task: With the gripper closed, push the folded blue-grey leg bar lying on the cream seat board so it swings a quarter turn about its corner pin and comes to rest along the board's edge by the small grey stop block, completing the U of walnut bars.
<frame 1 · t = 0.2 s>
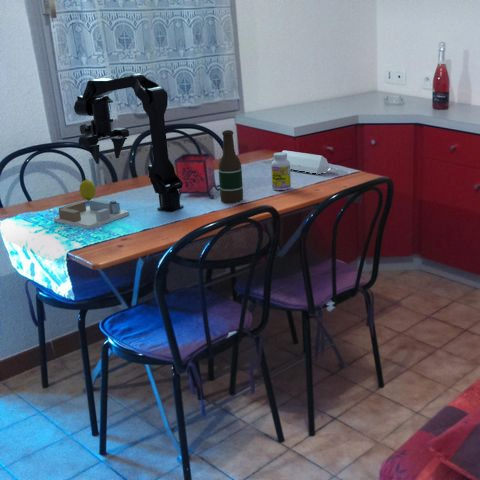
hand: (107, 161, 241), 14 cm above the table, tool pointing down, fingers open, 9 cm apart
white triangular prism: (302, 171, 271), on the table
beer bottle: (232, 201, 235), on the table
seat: (92, 218, 225), on the table
leg: (104, 205, 227), point 3 cm above the table, hinge at 0.0°
supplement bottle: (281, 189, 246), on the table
lemon: (89, 201, 246), on the table
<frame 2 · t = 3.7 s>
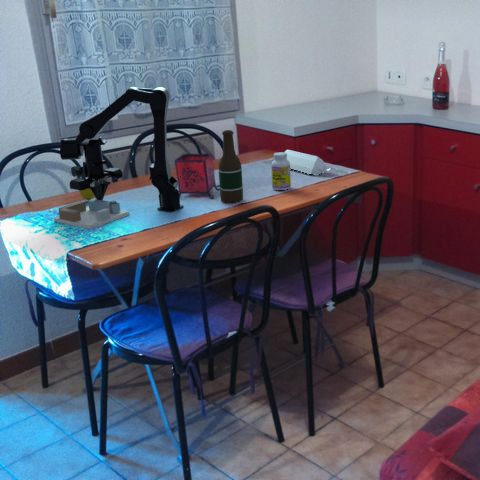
hand: (100, 203, 231), 3 cm above the table, tool pointing down, fingers closed
leg: (103, 205, 227), point 3 cm above the table, hinge at 2.5°, touching gripper
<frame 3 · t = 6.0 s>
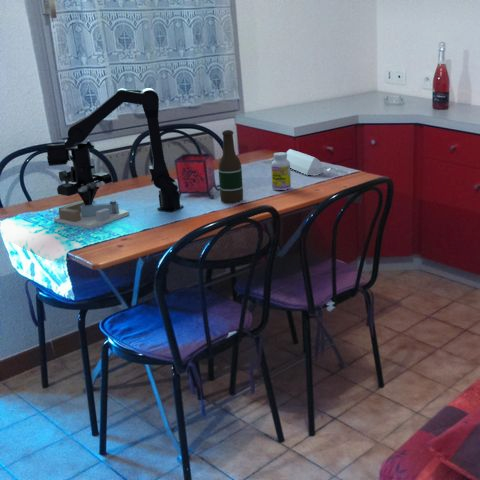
hand: (88, 209, 226), 3 cm above the table, tool pointing down, fingers closed
leg: (99, 208, 224), point 3 cm above the table, hinge at 48.3°, touching gripper
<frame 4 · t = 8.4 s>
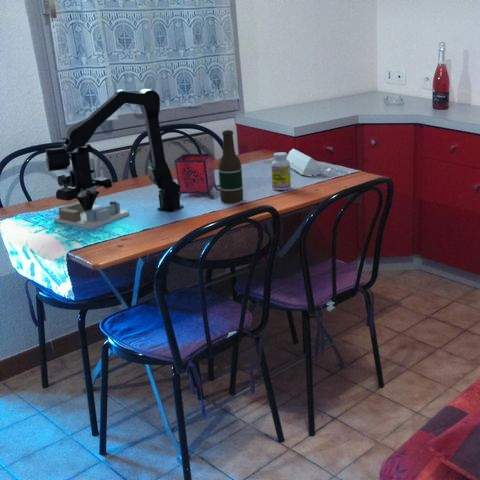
hand: (88, 214, 220), 3 cm above the table, tool pointing down, fingers closed
leg: (103, 210, 221), point 3 cm above the table, hinge at 88.7°
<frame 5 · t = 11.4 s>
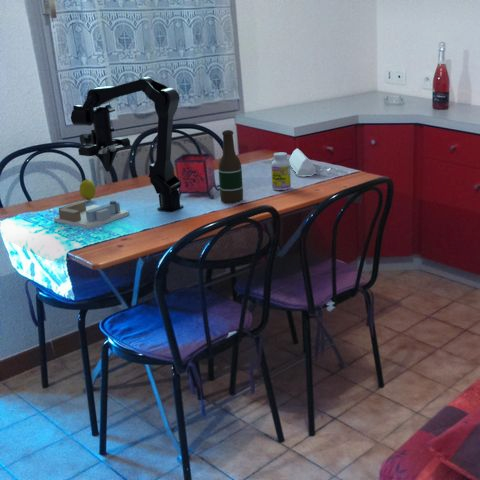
hand: (107, 171, 235), 12 cm above the table, tool pointing down, fingers closed
at the end: leg at +89° (first picture: +0°); leg touching nothing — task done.
